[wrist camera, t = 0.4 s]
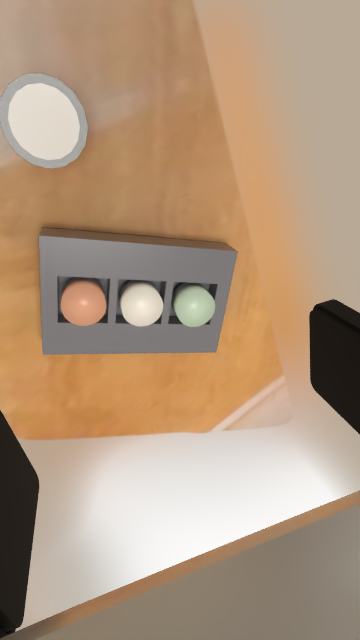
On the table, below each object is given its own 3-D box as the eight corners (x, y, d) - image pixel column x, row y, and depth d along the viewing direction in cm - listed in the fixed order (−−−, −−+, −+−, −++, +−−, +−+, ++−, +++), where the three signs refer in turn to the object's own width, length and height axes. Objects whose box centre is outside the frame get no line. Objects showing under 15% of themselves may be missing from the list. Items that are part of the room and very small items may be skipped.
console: (42, 227, 38) (39, 235, 35) (225, 243, 45) (237, 251, 41) (45, 338, 44) (42, 354, 41) (206, 338, 50) (216, 352, 47)
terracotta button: (61, 275, 39) (60, 284, 36) (105, 277, 40) (107, 286, 37) (61, 314, 41) (60, 325, 38) (103, 314, 42) (105, 326, 39)
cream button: (120, 278, 41) (123, 287, 38) (160, 280, 42) (165, 289, 39) (117, 315, 43) (120, 326, 40) (155, 315, 44) (160, 326, 41)
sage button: (173, 280, 42) (179, 289, 40) (210, 282, 44) (218, 291, 41) (168, 316, 44) (174, 326, 42) (203, 316, 46) (211, 327, 43)
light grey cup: (67, 75, 33) (65, 60, 27) (97, 151, 36) (101, 153, 30) (-2, 98, 32) (-21, 88, 26) (34, 173, 36) (26, 180, 30)
